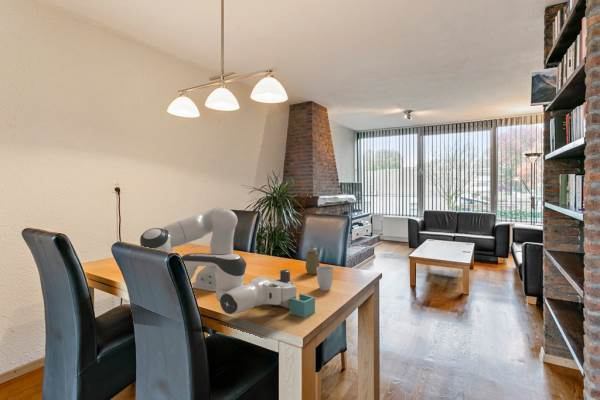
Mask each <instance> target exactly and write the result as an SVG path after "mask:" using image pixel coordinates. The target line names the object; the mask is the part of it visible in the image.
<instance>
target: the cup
mask: <svg viewBox="0 0 600 400" xmlns="http://www.w3.org/2000/svg"><path fill="white" fill-rule="evenodd" d="M316 279H317V283H318V287H319V289H320V290H321V291H330V290H331V288H332V285H333V279H334V267H332V266H329V265H320V267H317V274H316Z"/></svg>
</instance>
